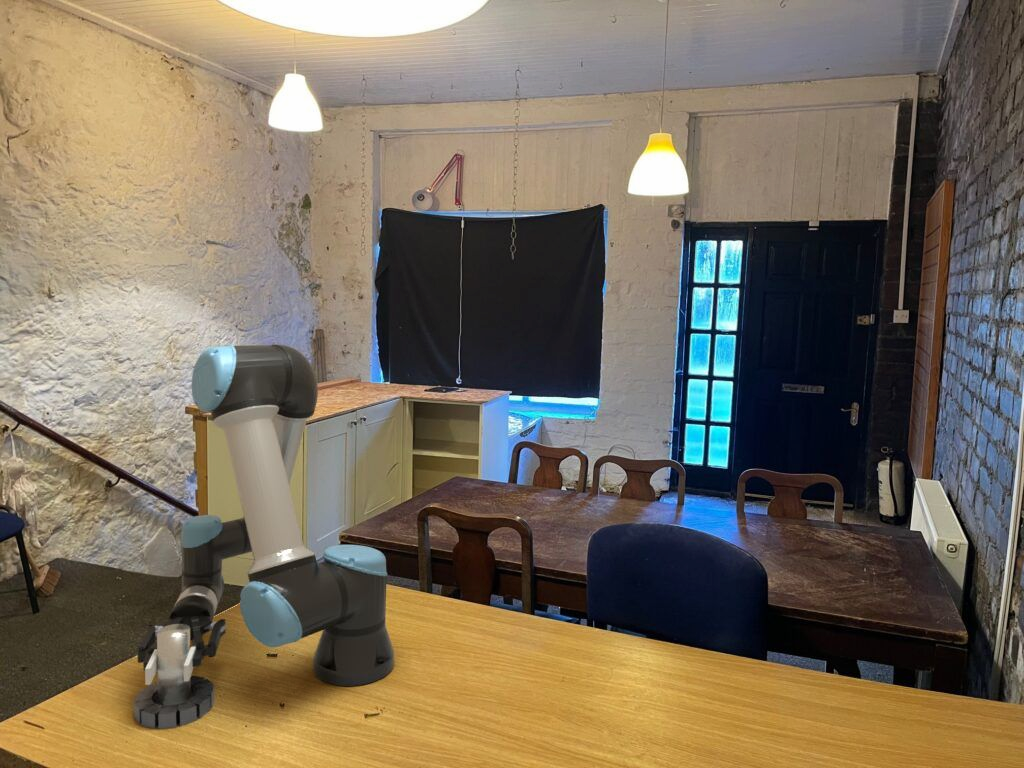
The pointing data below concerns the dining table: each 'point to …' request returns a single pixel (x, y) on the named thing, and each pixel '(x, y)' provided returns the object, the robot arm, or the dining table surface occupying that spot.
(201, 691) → the ring
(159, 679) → the cylinder
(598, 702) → the dining table surface
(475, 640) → the dining table surface
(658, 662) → the dining table surface
